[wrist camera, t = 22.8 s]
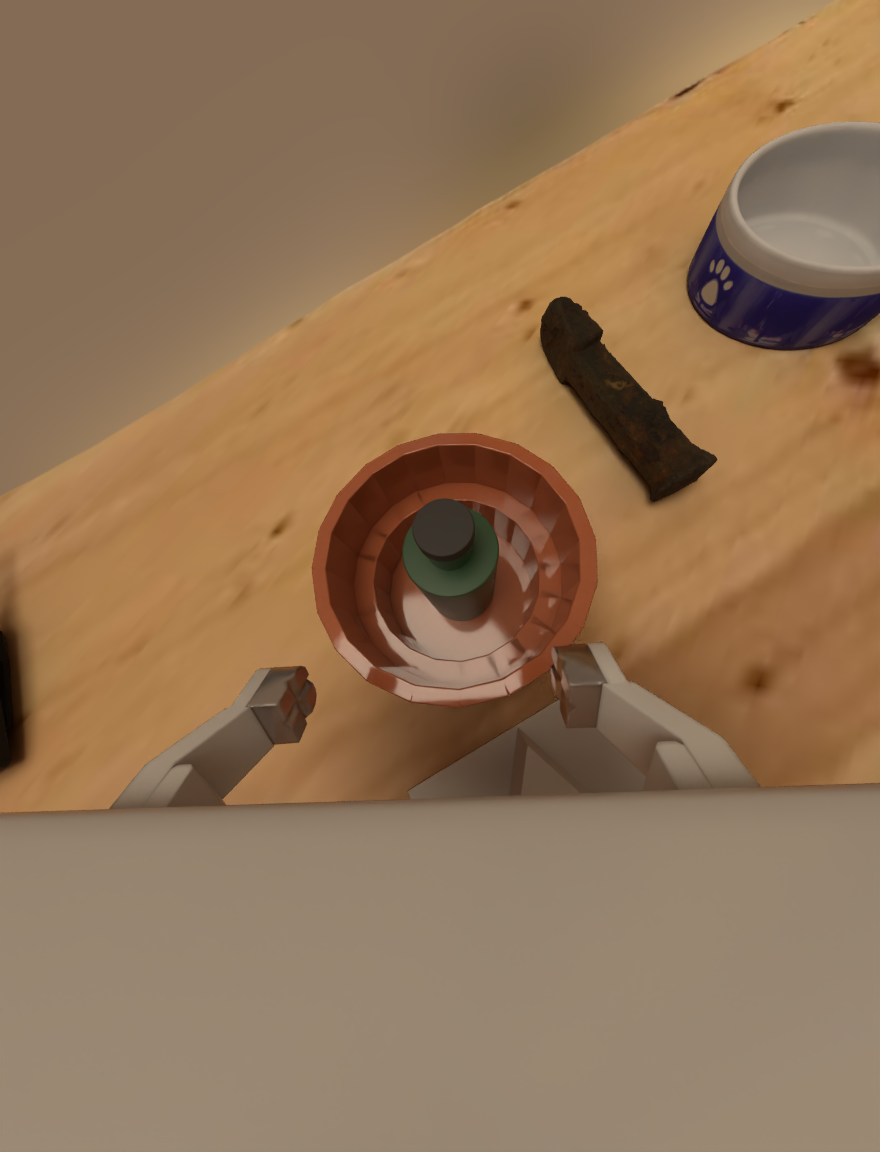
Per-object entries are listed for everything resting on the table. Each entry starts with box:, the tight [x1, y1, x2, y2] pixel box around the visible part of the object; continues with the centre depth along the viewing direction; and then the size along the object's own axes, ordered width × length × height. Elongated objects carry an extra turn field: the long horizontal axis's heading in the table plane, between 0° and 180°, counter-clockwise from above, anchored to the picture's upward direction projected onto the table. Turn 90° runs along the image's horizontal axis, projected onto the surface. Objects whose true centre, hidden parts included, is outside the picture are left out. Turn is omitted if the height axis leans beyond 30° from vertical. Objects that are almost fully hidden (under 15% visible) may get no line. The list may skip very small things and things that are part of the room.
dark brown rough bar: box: [540, 297, 717, 502], centre depth 26 cm, size 19×4×5 cm, turn 25°
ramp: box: [407, 699, 646, 799], centre depth 16 cm, size 28×16×5 cm, turn 30°
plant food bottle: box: [402, 498, 499, 621], centre depth 19 cm, size 5×5×12 cm
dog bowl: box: [688, 121, 880, 349], centre depth 26 cm, size 15×15×6 cm
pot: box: [312, 433, 598, 707], centre depth 21 cm, size 15×15×9 cm
